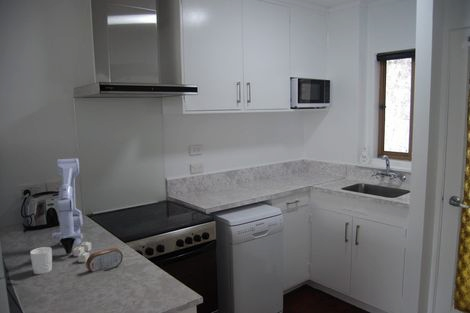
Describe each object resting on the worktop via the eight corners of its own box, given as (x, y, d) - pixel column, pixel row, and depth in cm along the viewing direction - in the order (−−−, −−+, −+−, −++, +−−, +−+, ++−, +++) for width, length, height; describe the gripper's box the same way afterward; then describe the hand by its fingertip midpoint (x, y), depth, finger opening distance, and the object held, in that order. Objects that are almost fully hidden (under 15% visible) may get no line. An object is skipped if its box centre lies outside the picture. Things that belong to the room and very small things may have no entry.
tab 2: (73, 256, 165) (73, 248, 165) (77, 253, 168) (77, 245, 168) (80, 256, 165) (80, 248, 164) (84, 253, 168) (84, 245, 167)
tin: (121, 263, 159) (120, 245, 158) (124, 265, 157) (123, 247, 156) (86, 274, 149) (85, 254, 148) (89, 276, 147) (87, 256, 146)
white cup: (57, 270, 153) (55, 247, 152) (42, 278, 146) (40, 255, 144) (43, 268, 156) (41, 246, 154) (27, 276, 148) (25, 252, 147)
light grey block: (81, 251, 171) (80, 243, 170) (84, 248, 174) (84, 241, 174) (88, 251, 170) (87, 243, 170) (91, 248, 174) (91, 241, 173)
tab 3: (78, 262, 158) (77, 253, 158) (82, 259, 161) (81, 251, 161) (85, 262, 158) (85, 254, 157) (89, 259, 161) (89, 251, 160)
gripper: (46, 227, 162) (49, 255, 164) (76, 227, 160) (78, 257, 162) (56, 222, 169) (58, 249, 171) (84, 223, 167) (87, 251, 169)
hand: (69, 253), depth 167 cm, fingers closed
